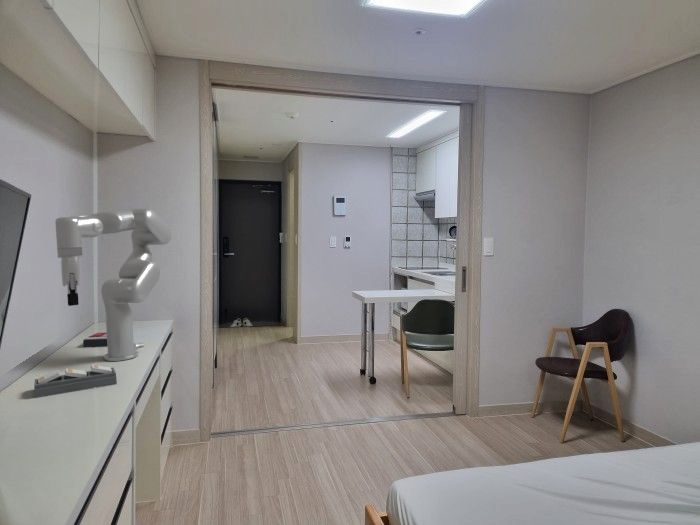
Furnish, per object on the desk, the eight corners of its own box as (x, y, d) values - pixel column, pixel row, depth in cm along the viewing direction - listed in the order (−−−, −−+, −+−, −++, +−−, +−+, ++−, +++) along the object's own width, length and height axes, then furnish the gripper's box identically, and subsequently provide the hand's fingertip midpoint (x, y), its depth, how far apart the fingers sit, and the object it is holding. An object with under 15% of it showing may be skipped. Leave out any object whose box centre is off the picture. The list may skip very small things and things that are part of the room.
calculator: (121, 331, 229) (109, 337, 214) (121, 340, 229) (109, 347, 214) (96, 332, 227) (82, 338, 213) (96, 341, 228) (83, 348, 213)
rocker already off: (109, 371, 169) (110, 367, 169) (110, 374, 165) (112, 370, 165) (90, 368, 166) (91, 364, 166) (91, 371, 162) (92, 367, 162)
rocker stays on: (59, 372, 161) (57, 369, 161) (60, 376, 157) (58, 372, 157) (39, 381, 158) (37, 378, 158) (39, 385, 154) (37, 382, 154)
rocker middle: (84, 374, 165) (86, 370, 165) (85, 378, 161) (86, 374, 161) (64, 372, 162) (66, 368, 162) (65, 375, 158) (66, 371, 158)
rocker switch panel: (113, 376, 172) (113, 366, 171) (116, 384, 164) (116, 373, 164) (35, 389, 160) (34, 378, 159) (35, 397, 152) (34, 386, 152)
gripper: (57, 252, 175) (60, 303, 177) (57, 254, 162) (61, 309, 164) (80, 251, 179) (84, 301, 181) (83, 253, 166) (86, 307, 168)
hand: (73, 304), depth 172 cm, fingers closed
